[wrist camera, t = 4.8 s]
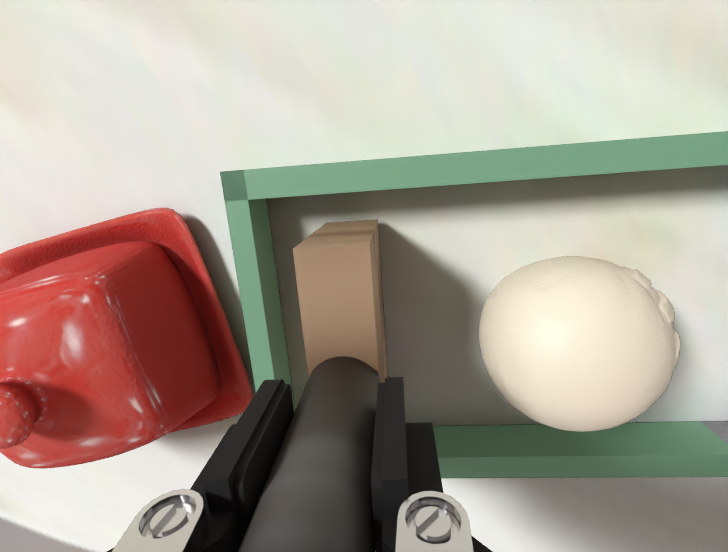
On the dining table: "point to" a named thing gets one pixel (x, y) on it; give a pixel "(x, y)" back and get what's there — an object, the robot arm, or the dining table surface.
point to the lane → (251, 187)
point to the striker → (330, 401)
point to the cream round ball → (579, 342)
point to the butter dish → (111, 342)
